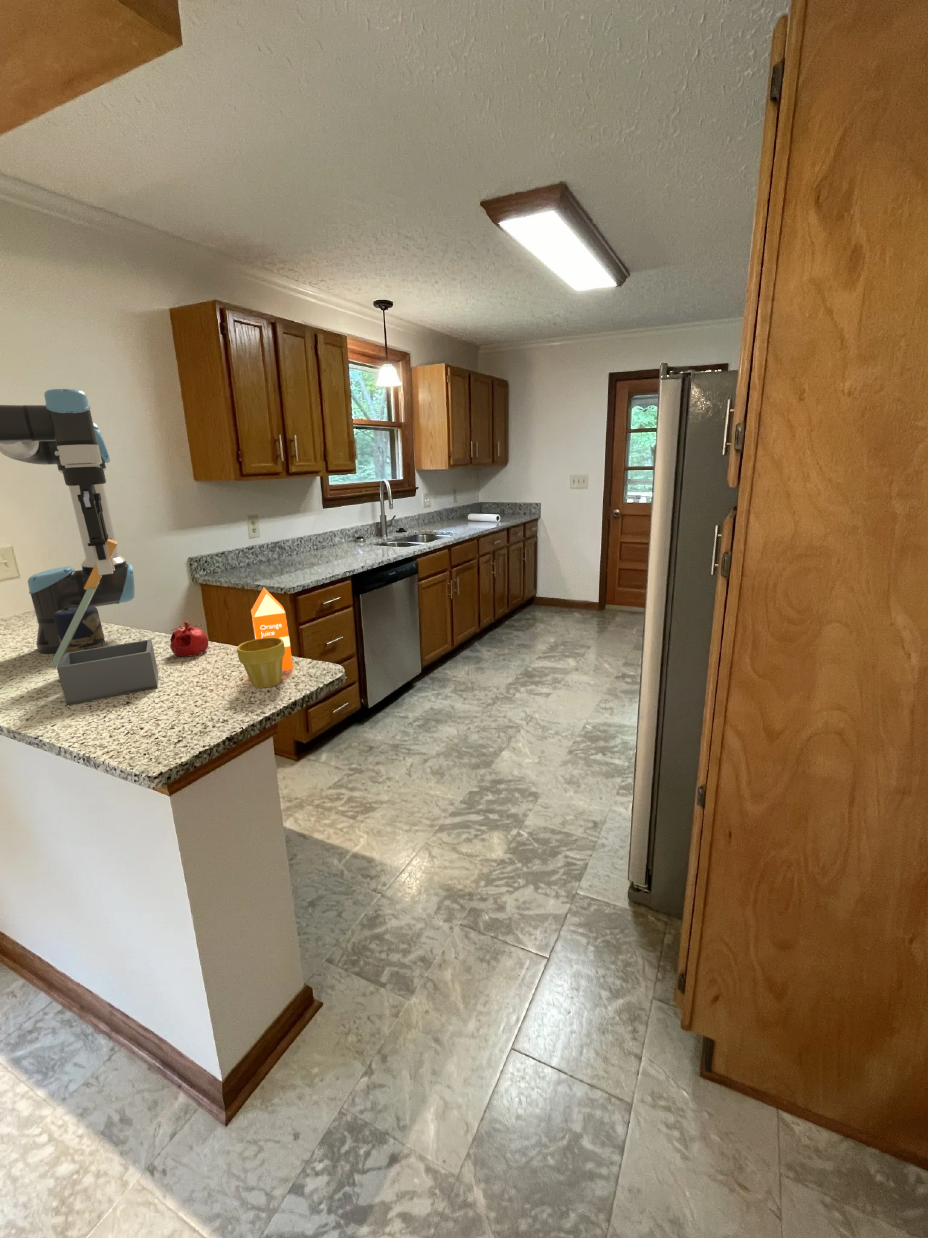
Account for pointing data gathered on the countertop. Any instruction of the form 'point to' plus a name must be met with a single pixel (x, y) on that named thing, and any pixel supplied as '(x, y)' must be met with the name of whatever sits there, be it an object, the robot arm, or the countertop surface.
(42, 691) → the countertop surface
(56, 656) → the lid
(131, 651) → the tub
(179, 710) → the countertop surface
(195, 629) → the pomegranate
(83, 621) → the canister
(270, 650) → the plant pot
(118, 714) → the countertop surface
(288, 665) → the orange juice
